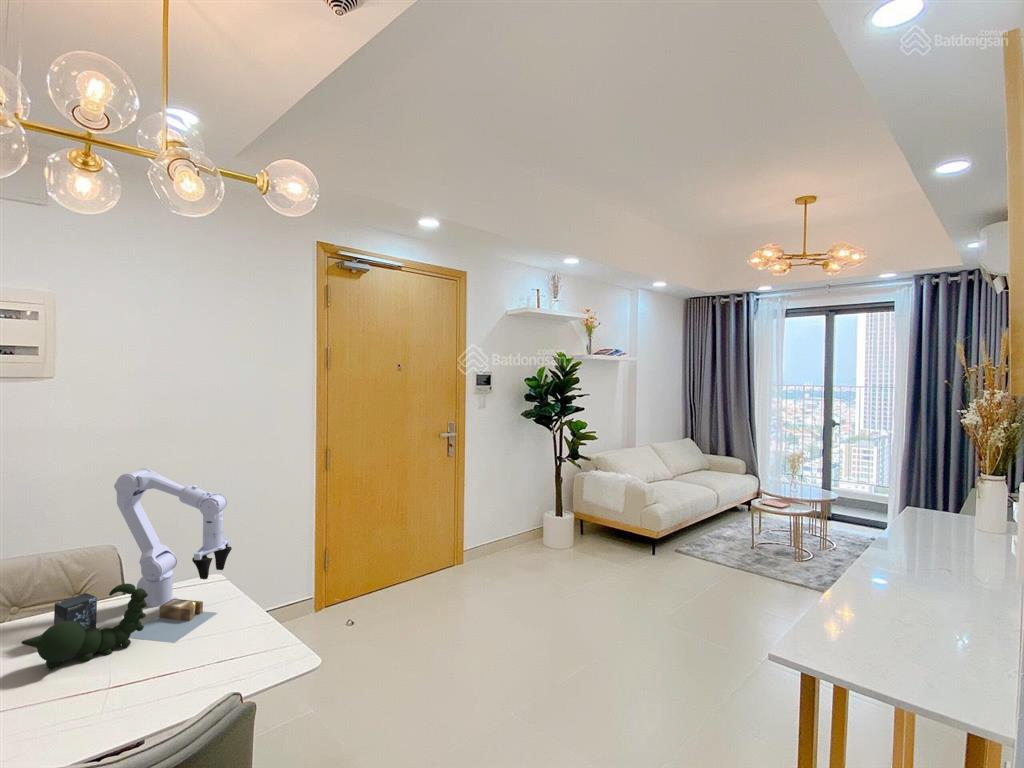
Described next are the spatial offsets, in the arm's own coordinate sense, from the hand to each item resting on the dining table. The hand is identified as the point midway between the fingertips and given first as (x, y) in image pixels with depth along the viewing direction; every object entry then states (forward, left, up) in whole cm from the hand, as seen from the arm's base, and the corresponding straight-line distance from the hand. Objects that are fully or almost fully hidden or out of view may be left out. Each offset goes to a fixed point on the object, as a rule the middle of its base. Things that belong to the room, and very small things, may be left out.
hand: (212, 574), depth 169 cm
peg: (+1, -10, -10) cm, 14 cm away
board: (-1, -16, -10) cm, 18 cm away
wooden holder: (-3, -10, -9) cm, 14 cm away
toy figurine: (-10, -34, -10) cm, 37 cm away
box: (-23, -25, -10) cm, 35 cm away
